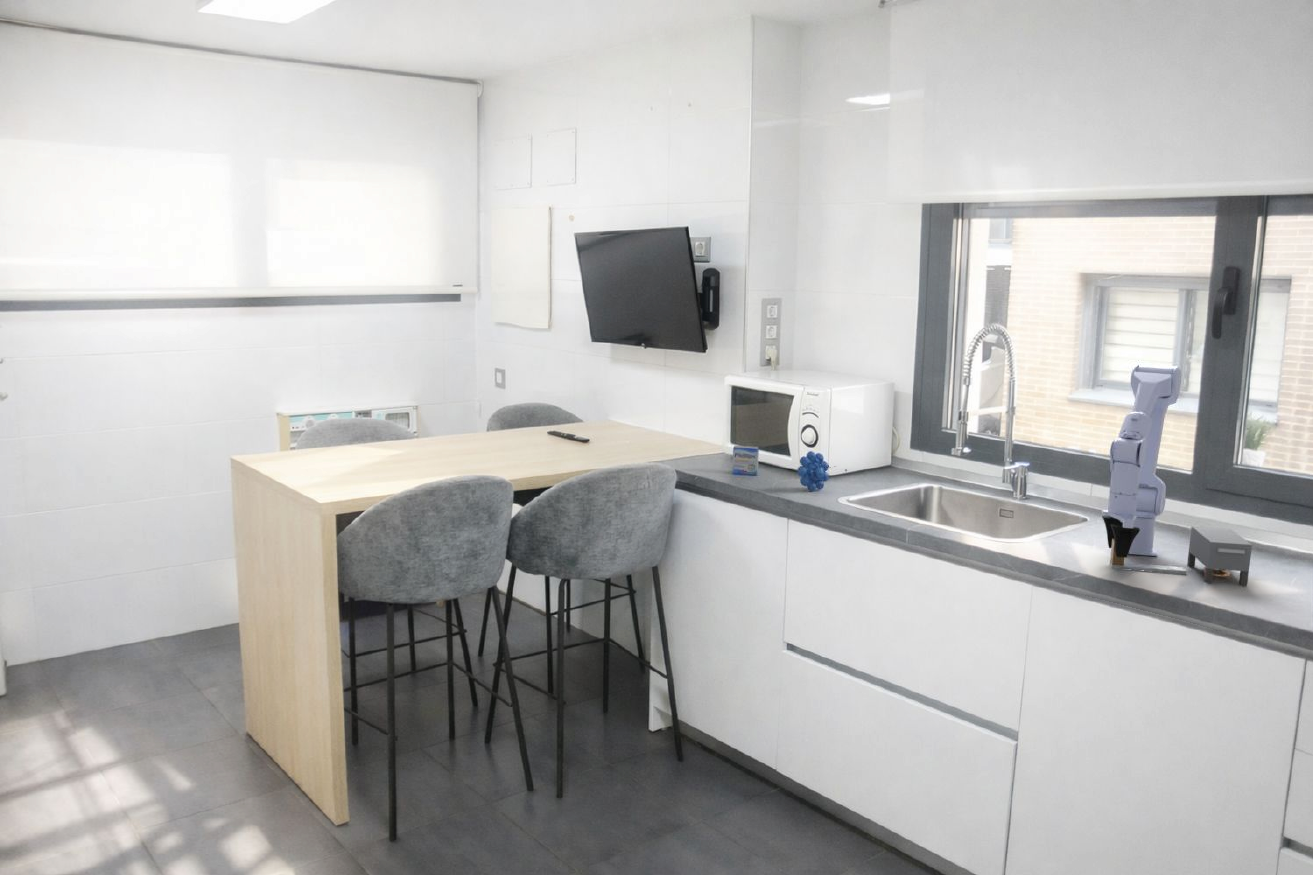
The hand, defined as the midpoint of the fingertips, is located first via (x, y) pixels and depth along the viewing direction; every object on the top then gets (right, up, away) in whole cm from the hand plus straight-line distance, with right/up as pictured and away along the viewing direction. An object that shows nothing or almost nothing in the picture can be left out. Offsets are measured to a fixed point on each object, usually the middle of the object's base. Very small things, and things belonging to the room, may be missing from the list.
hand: (1117, 552), depth 229 cm
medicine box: (-75, +14, +95) cm, 122 cm away
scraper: (+6, -4, -1) cm, 7 cm away
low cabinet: (+20, -5, -4) cm, 21 cm away
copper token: (+20, -5, -4) cm, 21 cm away
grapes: (-57, +9, +71) cm, 91 cm away
